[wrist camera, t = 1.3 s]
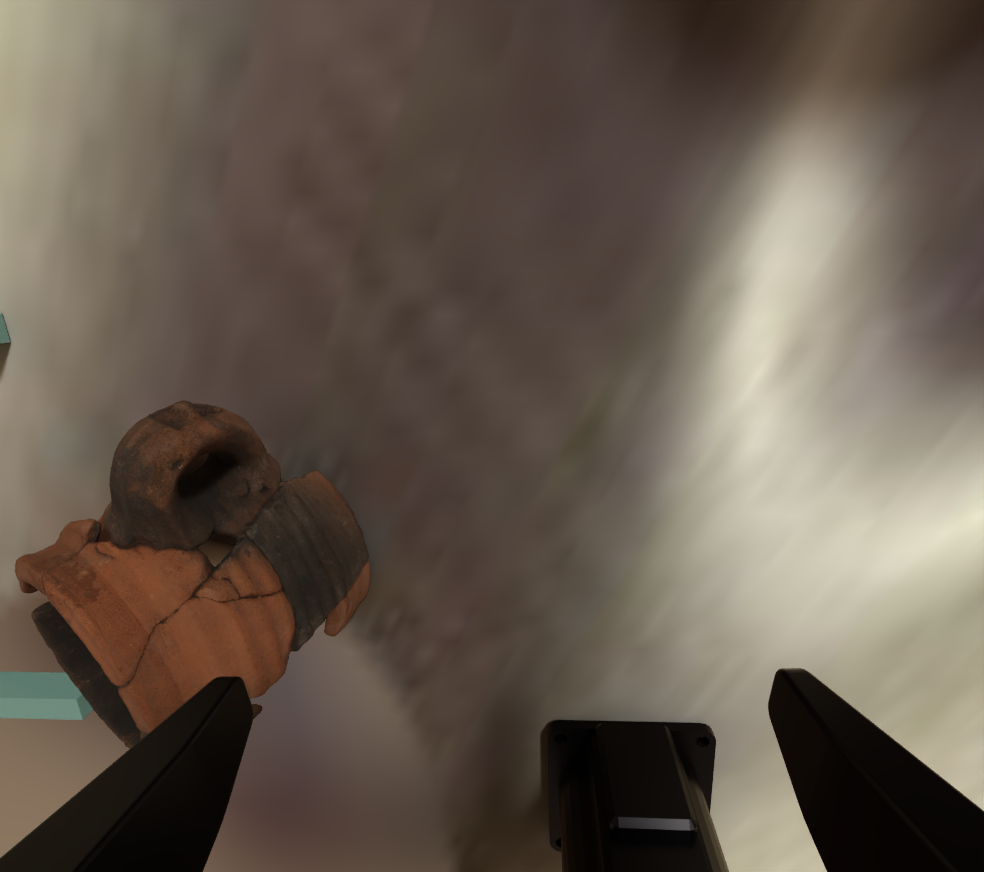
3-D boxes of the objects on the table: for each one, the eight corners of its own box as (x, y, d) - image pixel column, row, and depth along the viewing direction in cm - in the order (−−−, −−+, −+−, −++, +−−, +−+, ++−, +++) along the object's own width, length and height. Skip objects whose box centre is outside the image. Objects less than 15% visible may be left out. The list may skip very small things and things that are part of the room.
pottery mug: (388, 654, 22) (202, 843, 16) (242, 552, 26) (48, 673, 20) (388, 398, 16) (87, 549, 10) (197, 315, 20) (-103, 387, 14)
